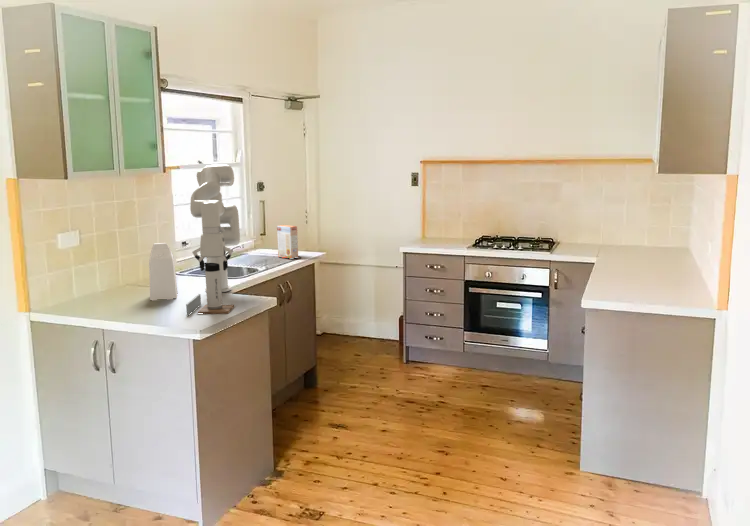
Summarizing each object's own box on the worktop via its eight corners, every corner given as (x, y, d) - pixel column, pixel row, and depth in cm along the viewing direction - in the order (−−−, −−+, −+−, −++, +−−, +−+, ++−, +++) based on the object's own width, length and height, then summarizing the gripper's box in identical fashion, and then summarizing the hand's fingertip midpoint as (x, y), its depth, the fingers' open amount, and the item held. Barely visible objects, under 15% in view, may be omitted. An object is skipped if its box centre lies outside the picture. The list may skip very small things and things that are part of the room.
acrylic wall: (199, 304, 304) (198, 294, 303) (201, 304, 304) (200, 294, 303) (186, 315, 284) (186, 304, 283) (188, 315, 284) (188, 304, 283)
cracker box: (298, 258, 425) (297, 226, 422) (291, 260, 421) (289, 226, 418) (285, 256, 435) (284, 224, 432) (278, 257, 431) (276, 225, 428)
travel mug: (209, 306, 296) (206, 261, 293) (223, 306, 296) (221, 261, 292) (205, 309, 290) (202, 264, 286) (220, 309, 290) (217, 263, 286)
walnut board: (205, 307, 299) (205, 304, 299) (234, 306, 299) (234, 304, 299) (197, 314, 286) (197, 311, 286) (228, 313, 286) (227, 311, 286)
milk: (177, 293, 328) (174, 241, 324) (176, 298, 317) (172, 244, 313) (152, 295, 326) (147, 242, 321) (150, 300, 315) (145, 245, 310)
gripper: (233, 229, 290) (235, 268, 293) (193, 230, 291) (196, 268, 293) (229, 231, 283) (232, 271, 286) (188, 232, 283) (191, 272, 286)
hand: (214, 270), depth 290 cm, fingers open, 9 cm apart
